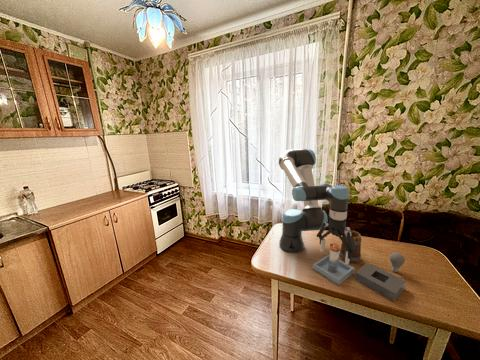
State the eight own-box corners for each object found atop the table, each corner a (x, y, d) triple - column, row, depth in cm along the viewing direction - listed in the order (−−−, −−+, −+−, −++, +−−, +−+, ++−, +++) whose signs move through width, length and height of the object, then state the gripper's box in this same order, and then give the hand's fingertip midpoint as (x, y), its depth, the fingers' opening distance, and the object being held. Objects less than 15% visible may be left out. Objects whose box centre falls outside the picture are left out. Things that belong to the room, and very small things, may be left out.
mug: (363, 264, 106) (366, 239, 102) (342, 262, 108) (344, 237, 105) (353, 247, 121) (356, 225, 117) (335, 246, 123) (337, 224, 119)
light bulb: (400, 268, 102) (403, 251, 99) (404, 276, 96) (407, 258, 94) (386, 266, 104) (388, 249, 102) (389, 273, 99) (392, 255, 96)
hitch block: (354, 279, 96) (355, 272, 95) (366, 269, 102) (367, 262, 101) (394, 301, 83) (395, 293, 82) (404, 288, 89) (406, 281, 88)
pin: (331, 265, 104) (333, 242, 101) (339, 270, 101) (341, 246, 98) (326, 269, 102) (328, 245, 99) (334, 274, 99) (336, 249, 95)
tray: (312, 269, 104) (312, 264, 103) (328, 259, 111) (328, 254, 110) (338, 285, 92) (338, 280, 92) (353, 273, 100) (354, 268, 99)
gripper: (310, 211, 103) (308, 248, 108) (360, 229, 83) (355, 273, 88) (319, 208, 107) (317, 243, 112) (369, 224, 87) (363, 266, 92)
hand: (334, 256), depth 100 cm, fingers open, 12 cm apart
